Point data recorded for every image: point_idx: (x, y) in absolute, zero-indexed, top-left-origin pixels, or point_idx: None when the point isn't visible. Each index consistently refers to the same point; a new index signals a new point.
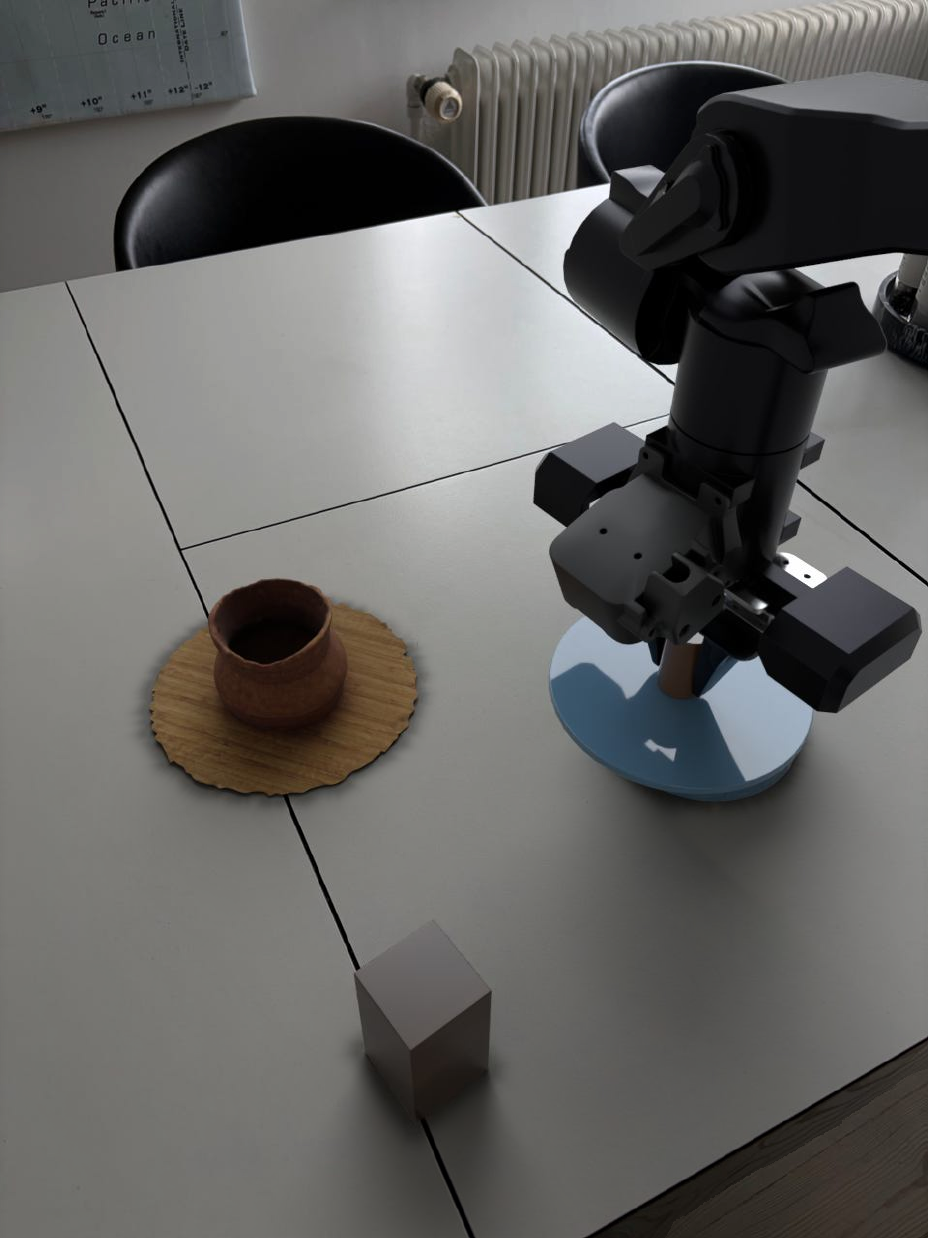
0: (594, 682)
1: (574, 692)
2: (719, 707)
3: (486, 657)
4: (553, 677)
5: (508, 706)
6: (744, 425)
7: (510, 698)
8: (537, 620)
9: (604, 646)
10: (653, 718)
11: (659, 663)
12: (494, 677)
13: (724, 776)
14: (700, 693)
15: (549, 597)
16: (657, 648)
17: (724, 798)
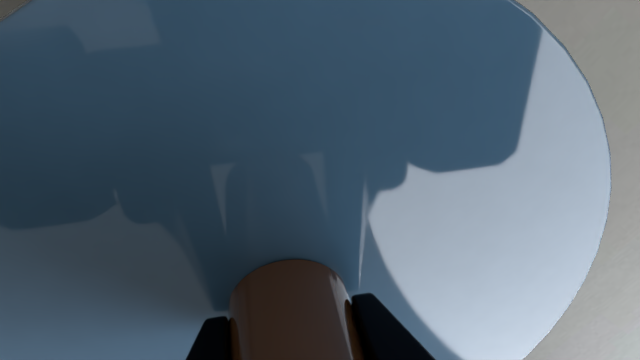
0: (432, 134)
1: (447, 59)
2: (169, 331)
3: (632, 44)
4: (538, 40)
5: (545, 14)
6: None
7: (553, 27)
8: (611, 146)
9: (500, 223)
10: (221, 194)
11: (353, 305)
12: (598, 31)
13: None
14: (196, 339)
15: (621, 180)
16: (374, 350)
17: None
